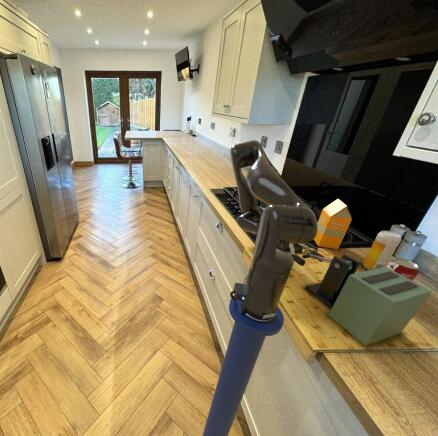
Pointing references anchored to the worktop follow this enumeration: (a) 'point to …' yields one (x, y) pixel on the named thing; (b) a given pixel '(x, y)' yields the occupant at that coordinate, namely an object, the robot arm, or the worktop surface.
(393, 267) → the soda can
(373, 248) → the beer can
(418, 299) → the toaster
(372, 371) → the worktop surface
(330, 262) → the lever
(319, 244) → the orange juice
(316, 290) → the bracket
